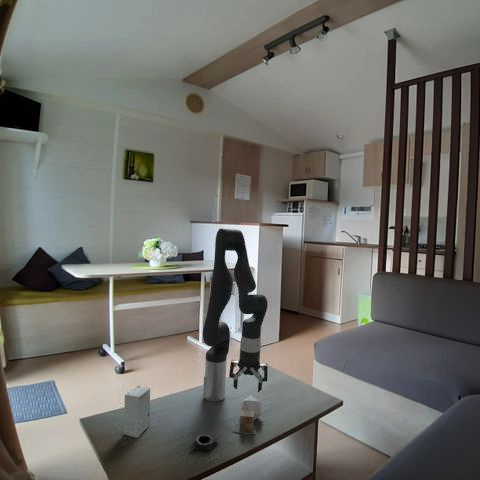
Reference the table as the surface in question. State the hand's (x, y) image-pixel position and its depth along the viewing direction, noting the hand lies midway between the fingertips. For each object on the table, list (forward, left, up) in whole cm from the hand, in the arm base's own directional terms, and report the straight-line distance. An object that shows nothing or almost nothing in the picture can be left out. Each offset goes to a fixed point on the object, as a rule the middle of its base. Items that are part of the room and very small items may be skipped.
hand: (247, 389), depth 131 cm
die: (+1, +8, -16) cm, 18 cm away
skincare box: (-40, -7, -16) cm, 43 cm away
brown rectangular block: (0, 0, -15) cm, 15 cm away
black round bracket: (-13, -12, -16) cm, 24 cm away
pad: (0, 0, -16) cm, 16 cm away
